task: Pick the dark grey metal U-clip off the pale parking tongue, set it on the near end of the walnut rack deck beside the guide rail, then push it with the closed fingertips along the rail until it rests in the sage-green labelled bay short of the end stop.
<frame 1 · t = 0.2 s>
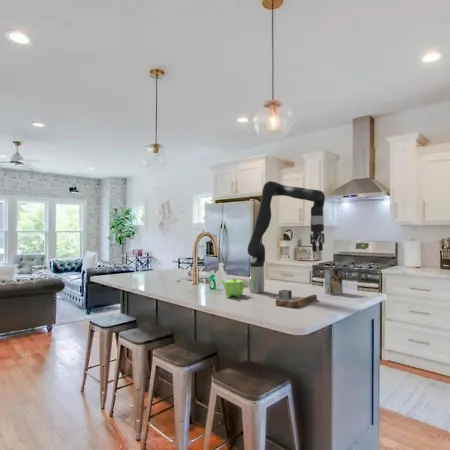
hand: (317, 250, 201), 28 cm above the table, fingers open, 8 cm apart
clip: (285, 297, 206), resting on tongue
kettle: (233, 296, 215), on the table
tongue: (285, 298, 206), on the table
rack: (296, 302, 192), on the table
coffee box: (333, 293, 218), on the table
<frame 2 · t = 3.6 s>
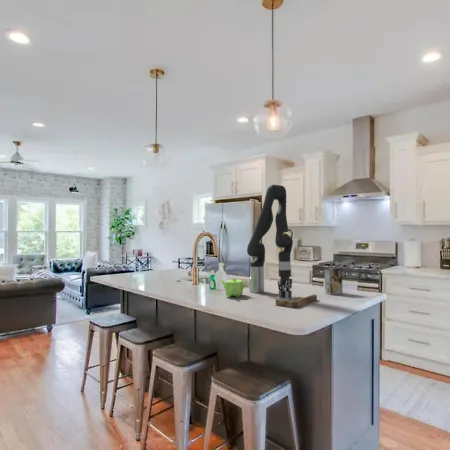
hand: (285, 296, 206), 1 cm above the table, fingers closed on clip, 5 cm apart
clip: (285, 297, 206), resting on tongue, touching gripper
everything else where it was.
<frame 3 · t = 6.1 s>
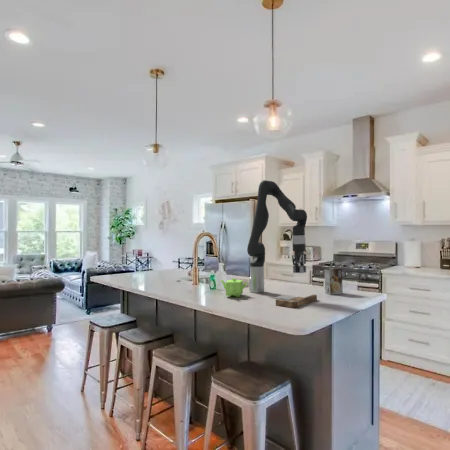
hand: (299, 271, 200), 16 cm above the table, fingers closed on clip, 5 cm apart
clip: (299, 272, 200), point 16 cm above the table, touching gripper
everything else where it was.
when the fingers open (2 cm above the table, at t = 8.5 s): clip drops 1 cm, resting on rack.
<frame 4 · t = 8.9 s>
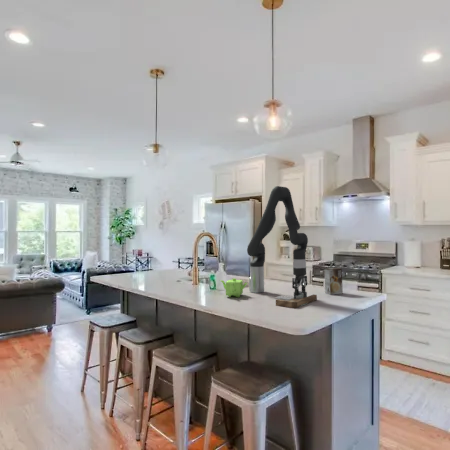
hand: (300, 294, 200), 3 cm above the table, fingers open, 8 cm apart
clip: (300, 298, 200), point 1 cm above the table, touching rack
everything else where it was.
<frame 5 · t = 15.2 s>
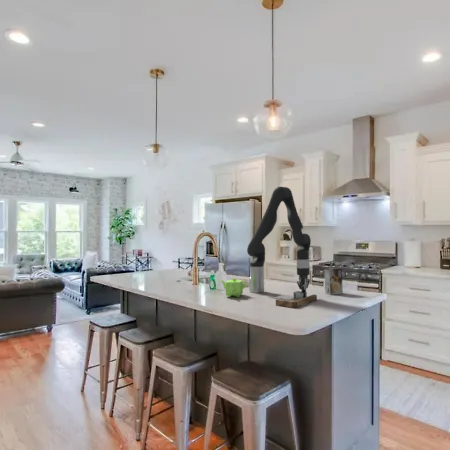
hand: (303, 295, 203), 2 cm above the table, fingers closed
clip: (300, 298, 199), point 1 cm above the table, touching gripper
everything else where it was.
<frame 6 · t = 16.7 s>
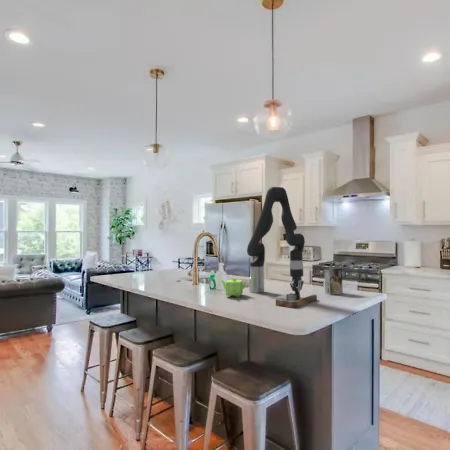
hand: (297, 298, 196), 2 cm above the table, fingers closed
clip: (293, 301, 193), point 1 cm above the table, touching gripper
everything else where it was.
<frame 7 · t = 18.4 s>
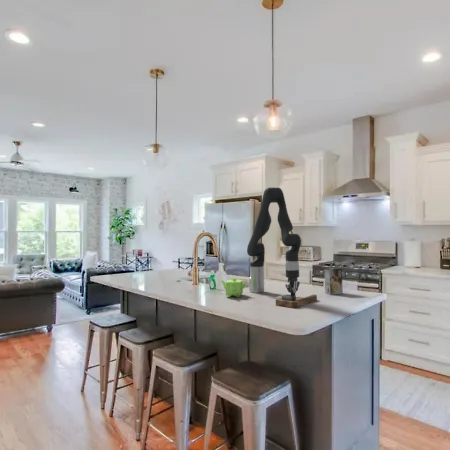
hand: (293, 299, 193), 2 cm above the table, fingers closed
clip: (288, 302, 189), point 1 cm above the table, touching gripper, rack
everything else where it was.
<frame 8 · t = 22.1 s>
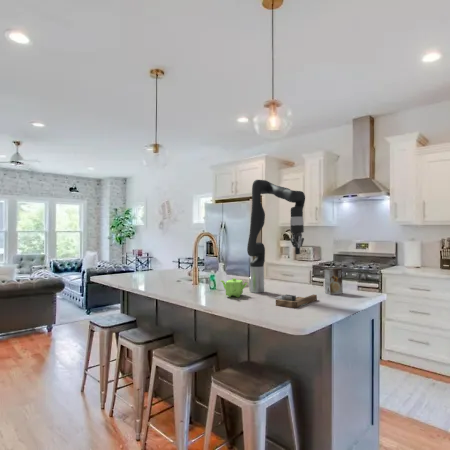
hand: (297, 254, 199), 27 cm above the table, fingers closed
clip: (288, 302, 189), point 1 cm above the table, touching rack
everything else where it was.
at the end: clip inside the target area on the rack (1.2 cm from its centre), point 0.6 cm above the rack's base; clip tilted 0°; the gripper is holding nothing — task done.
